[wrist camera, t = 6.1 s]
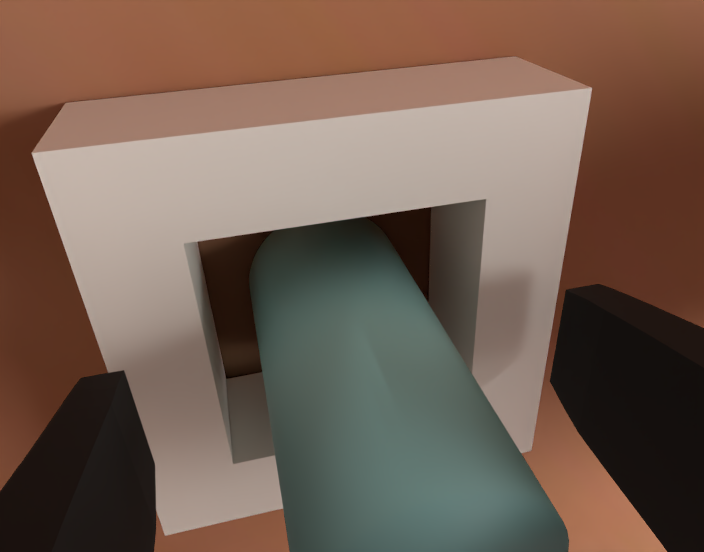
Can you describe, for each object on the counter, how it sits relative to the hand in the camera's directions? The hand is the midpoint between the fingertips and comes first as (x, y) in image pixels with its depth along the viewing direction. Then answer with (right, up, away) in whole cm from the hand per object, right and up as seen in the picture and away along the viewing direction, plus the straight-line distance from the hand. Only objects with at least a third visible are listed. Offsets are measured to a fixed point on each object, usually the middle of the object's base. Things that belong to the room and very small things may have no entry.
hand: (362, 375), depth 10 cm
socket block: (-1, +2, +3) cm, 3 cm away
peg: (-1, +2, +3) cm, 3 cm away
